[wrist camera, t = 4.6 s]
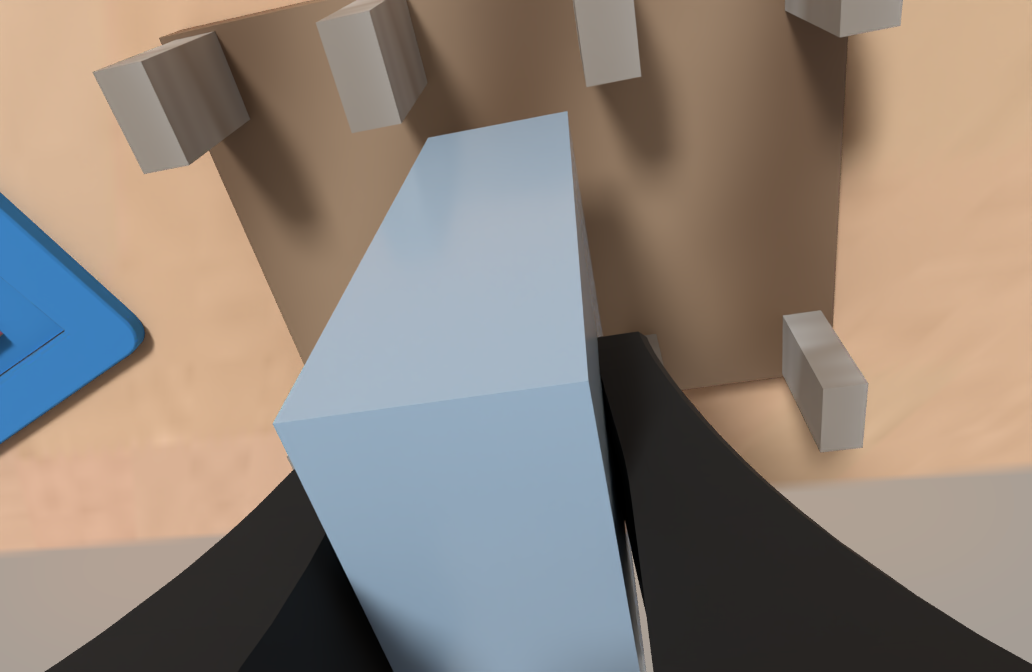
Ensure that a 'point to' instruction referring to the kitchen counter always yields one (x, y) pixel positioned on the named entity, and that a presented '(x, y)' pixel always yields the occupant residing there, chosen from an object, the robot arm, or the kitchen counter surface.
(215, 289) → the kitchen counter surface
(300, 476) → the slate-blue tile
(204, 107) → the walnut rack
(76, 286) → the handheld gaming device
